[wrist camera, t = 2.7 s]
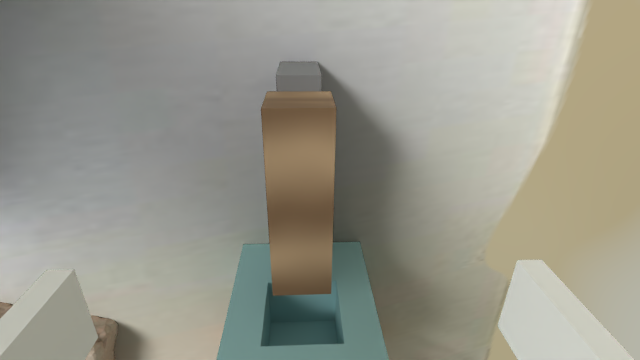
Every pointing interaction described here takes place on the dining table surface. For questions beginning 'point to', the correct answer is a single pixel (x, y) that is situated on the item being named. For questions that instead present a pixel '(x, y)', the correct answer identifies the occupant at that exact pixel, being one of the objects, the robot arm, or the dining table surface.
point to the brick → (106, 329)
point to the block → (302, 313)
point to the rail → (298, 76)
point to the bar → (300, 189)
